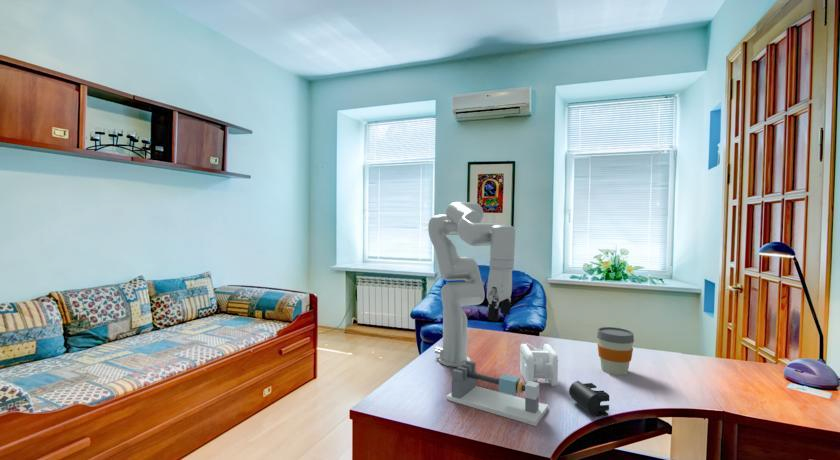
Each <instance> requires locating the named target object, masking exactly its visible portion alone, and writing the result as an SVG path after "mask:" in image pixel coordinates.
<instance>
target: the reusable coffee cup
mask: <svg viewBox="0 0 840 460" xmlns="http://www.w3.org/2000/svg"><path fill="white" fill-rule="evenodd" d="M596 338H597V340H598V342H597V351H598V353H597V354H598V356H599V358H600V359H599V360H600V367H601V371H603V372H604V373H606V374H609V375H614V376H626V375H628V373H629V369H630V368H629V367H630V362H631V361H632V356H633V352H634V351H633V350H634V348H633V344H634V342H635V339H634V332H632V331H631V330H629V329H624V328H620V327H612V326H604V327H603V326H602V327H599V328H598V329H597V334H596Z"/></svg>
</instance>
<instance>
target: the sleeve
mask: <svg viewBox="0 0 840 460" xmlns="http://www.w3.org/2000/svg"><path fill="white" fill-rule="evenodd" d="M498 379H499V385H498V392H501V393H504V394H508V395H512V396H517V394H518V393H519V392H517V389H516V384H518V383H519V382H521V378H520V377H518V376H515V375H510V374H506V373H503V374H502V375H501V376H499V378H498Z"/></svg>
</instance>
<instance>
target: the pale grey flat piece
mask: <svg viewBox="0 0 840 460" xmlns="http://www.w3.org/2000/svg"><path fill="white" fill-rule="evenodd" d="M525 344H527V346H530V347H532V348H533V349H532V351H543V348H537V347H536V346H534V345H532V344H530V343H528V342H525Z"/></svg>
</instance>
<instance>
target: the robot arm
mask: <svg viewBox="0 0 840 460" xmlns="http://www.w3.org/2000/svg"><path fill="white" fill-rule="evenodd" d="M445 210H446V211H445V214H437V215H433V216H432V217H431V218H430V219H429V221H428V225H427V226H428V227H427V229H428V236H429V239H430V241H431V244H432V246H433V248H434V250H435V254H436V260H437V265H438V268H439V272H440V276H441V278H442V279H443V280H445V281H453V282H447V283H445V284H444V285H443V286H442V287H441V290H440V297H441V305H442V347H439V346H436V347H435V348H434V354H437V355H439V356H438V362H439V363H440V364H441V365H442V366H446V367H451V368H457V367H461V365H462V364H466V362H467V361H469V362H471V358H470V357H469V356H468V353H467V350H468V341H467V340H468V317H467V313H466V312H465V311H464V309H463V308H462V307H467V306H476V305H480V304H482V303H483V302H484V300H485V289H484V288H485V287H484V284H483V280H482V276H481V273H480V268H479V265H478V263H477V261H476V260H475V259H474V258H473V257H471V256H459V255H458V251H457V248H456V245H455V243H454V242H453V241H452V240H451V239H450V238H449V237H447V236H459V238H460V239H461V240H462V241H463V242H464V243H466V244H467V245H469V246H472V247H473V246H475V247H478V246H479V247H481V246H483V247H484V246H485V247H486V246H489V247H490V251H489V273H488V279H487V287H486V299H487V304H488V305H487V307H488V311H487V313H488V314H487V319H488V321H491V322H492V321H493V322H498V321H499V314H503V315H510V314H511V303H512V302H511V301H512V298H511V297H512V292H513V270H514V269H515V268H514V266H515V248H516V246H515V245H516V244H515V243H516V229H515V227H514V226H513V225H505V224H501V223H494V222H493V223H489V222H488V223H487V222H485V223H484V222H482V220H483V219H484V210H483V207H482V206H481V205H480V204H479V203H477V202H469V201H467V202H466V201H455V202H452V203H450V204H449V205H448V206H447V208H446V209H445ZM499 305H500V309H499ZM499 312H500V313H499Z"/></svg>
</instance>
